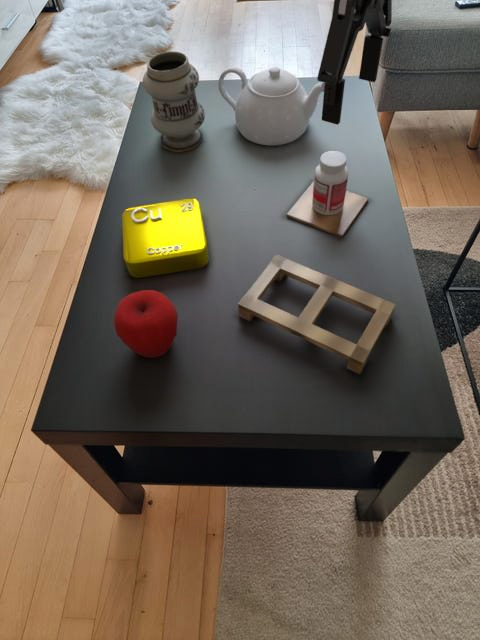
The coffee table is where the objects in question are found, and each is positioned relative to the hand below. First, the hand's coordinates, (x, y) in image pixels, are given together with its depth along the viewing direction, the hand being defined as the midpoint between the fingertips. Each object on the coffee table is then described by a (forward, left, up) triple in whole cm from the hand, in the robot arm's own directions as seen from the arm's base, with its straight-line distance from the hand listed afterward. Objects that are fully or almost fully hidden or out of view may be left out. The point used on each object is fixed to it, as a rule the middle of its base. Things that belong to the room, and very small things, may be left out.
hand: (349, 99), depth 76 cm
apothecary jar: (+42, -5, -24) cm, 48 cm away
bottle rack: (-8, +25, -23) cm, 35 cm away
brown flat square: (+2, 0, -23) cm, 23 cm away
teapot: (+26, -19, -24) cm, 40 cm away
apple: (+12, +43, -24) cm, 50 cm away
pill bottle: (+2, 0, -23) cm, 23 cm away
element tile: (+24, +24, -24) cm, 41 cm away
